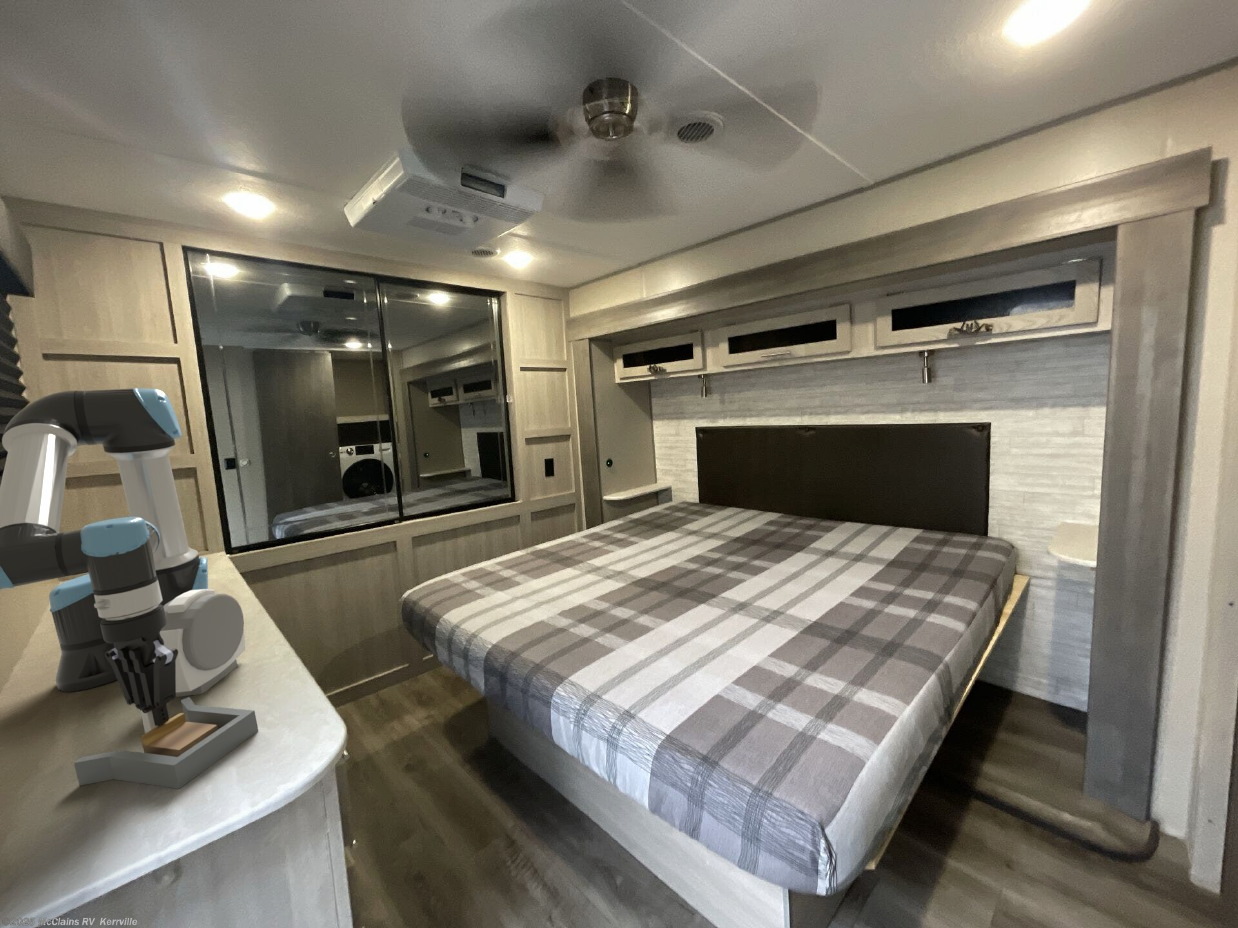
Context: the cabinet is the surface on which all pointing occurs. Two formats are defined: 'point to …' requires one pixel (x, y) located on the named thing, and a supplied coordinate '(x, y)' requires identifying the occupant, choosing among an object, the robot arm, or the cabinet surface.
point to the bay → (168, 768)
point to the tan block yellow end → (175, 736)
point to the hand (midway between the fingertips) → (160, 740)
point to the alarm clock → (203, 638)
